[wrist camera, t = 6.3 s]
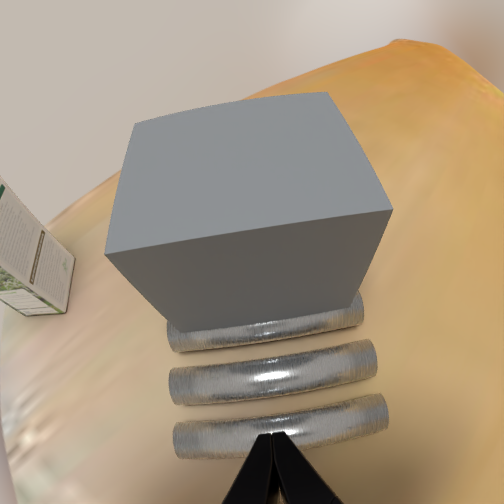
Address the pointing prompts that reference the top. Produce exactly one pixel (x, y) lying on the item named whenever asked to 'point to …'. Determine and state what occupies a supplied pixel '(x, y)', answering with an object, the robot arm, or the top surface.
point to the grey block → (246, 212)
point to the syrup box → (31, 261)
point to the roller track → (275, 386)
